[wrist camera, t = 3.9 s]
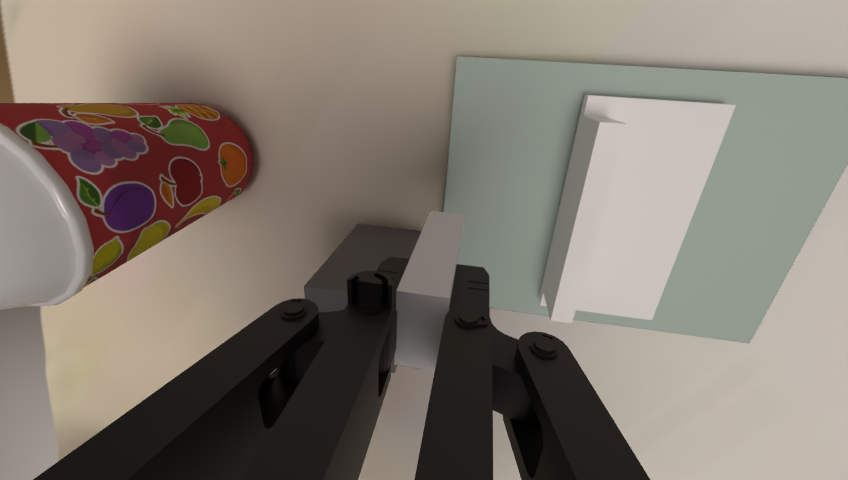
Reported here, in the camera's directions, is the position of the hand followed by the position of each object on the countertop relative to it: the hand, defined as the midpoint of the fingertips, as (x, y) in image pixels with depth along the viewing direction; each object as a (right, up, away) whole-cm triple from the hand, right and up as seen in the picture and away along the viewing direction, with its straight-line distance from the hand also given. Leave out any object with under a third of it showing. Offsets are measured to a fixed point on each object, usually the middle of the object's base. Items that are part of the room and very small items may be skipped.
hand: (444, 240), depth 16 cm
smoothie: (-16, +7, +10) cm, 20 cm away
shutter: (+11, +1, +5) cm, 12 cm away
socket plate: (+11, +2, +7) cm, 14 cm away
